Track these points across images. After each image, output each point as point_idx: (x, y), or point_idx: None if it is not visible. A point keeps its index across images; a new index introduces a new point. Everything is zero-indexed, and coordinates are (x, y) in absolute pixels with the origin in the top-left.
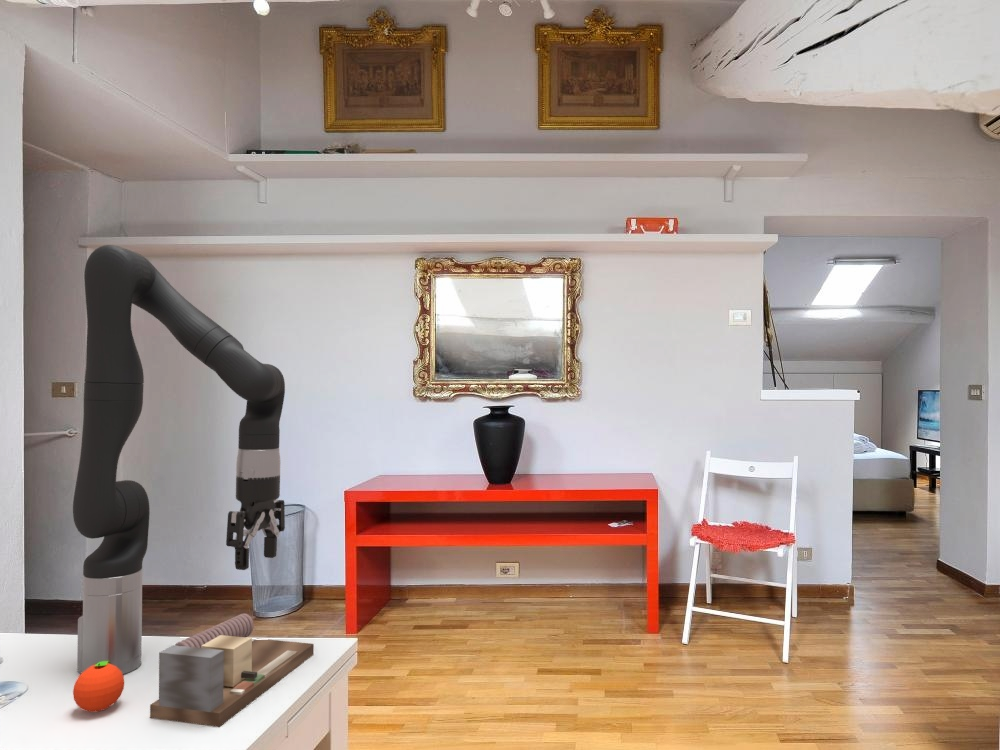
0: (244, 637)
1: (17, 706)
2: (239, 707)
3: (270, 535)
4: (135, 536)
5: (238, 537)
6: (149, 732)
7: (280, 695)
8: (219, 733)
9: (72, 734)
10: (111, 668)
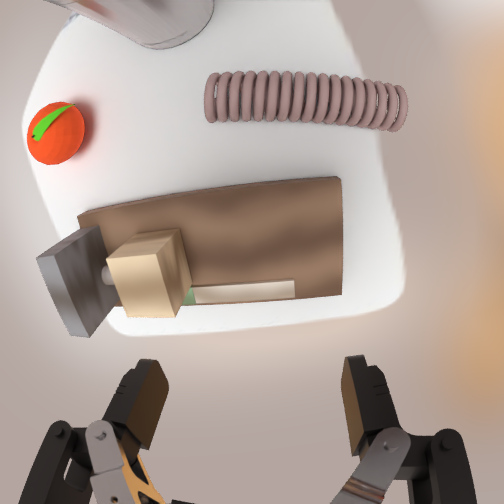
0: (170, 304)
1: (58, 43)
2: None
3: (364, 454)
4: None
5: (72, 475)
6: None
7: (198, 317)
8: None
9: (40, 166)
10: (42, 151)
